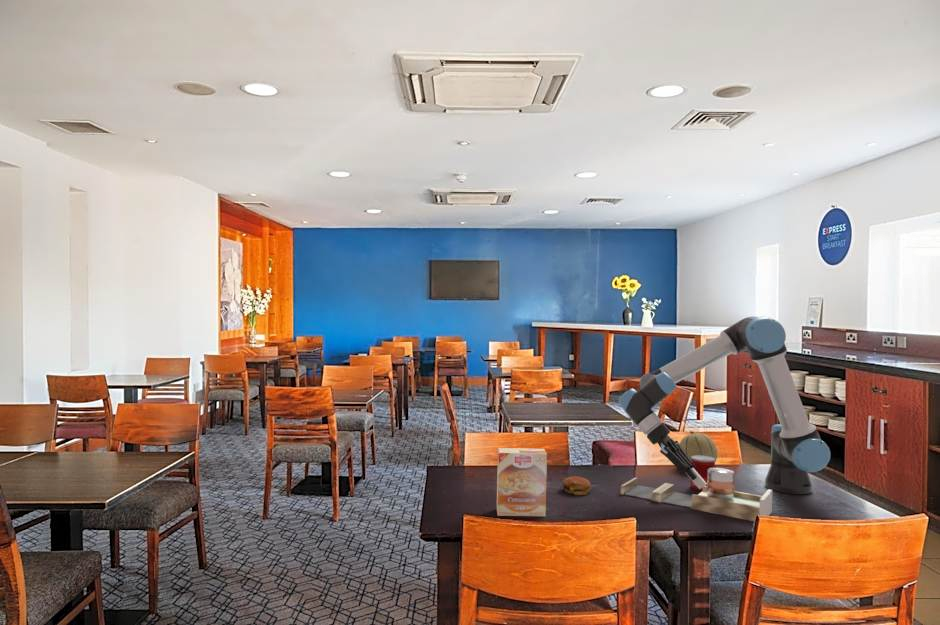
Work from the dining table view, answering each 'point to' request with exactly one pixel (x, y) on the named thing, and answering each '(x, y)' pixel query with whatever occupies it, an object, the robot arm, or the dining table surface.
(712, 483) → the tin
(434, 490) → the dining table surface
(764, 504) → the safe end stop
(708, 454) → the cantaloupe
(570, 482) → the burger
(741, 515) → the tray
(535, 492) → the coffeecake box
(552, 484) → the dining table surface
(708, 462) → the canned food
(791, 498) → the dining table surface
